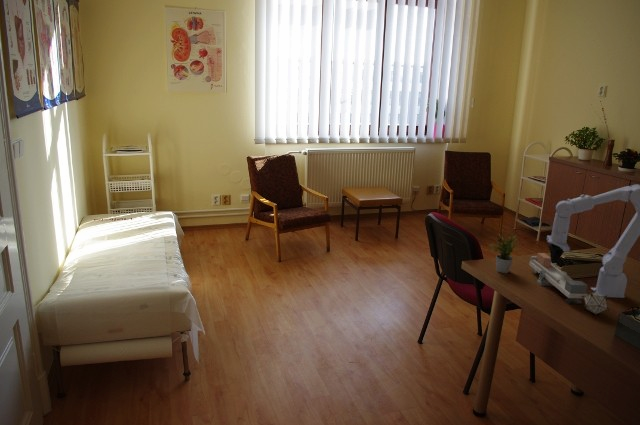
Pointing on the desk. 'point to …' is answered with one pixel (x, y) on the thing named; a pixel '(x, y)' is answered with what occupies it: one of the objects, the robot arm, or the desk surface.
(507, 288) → the desk surface
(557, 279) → the beam
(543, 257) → the block
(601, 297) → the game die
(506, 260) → the house plant
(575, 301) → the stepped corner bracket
